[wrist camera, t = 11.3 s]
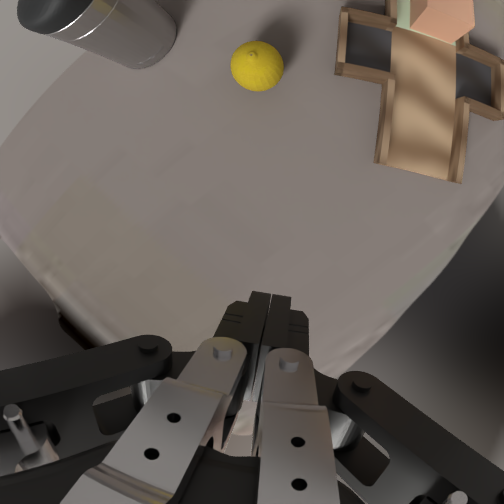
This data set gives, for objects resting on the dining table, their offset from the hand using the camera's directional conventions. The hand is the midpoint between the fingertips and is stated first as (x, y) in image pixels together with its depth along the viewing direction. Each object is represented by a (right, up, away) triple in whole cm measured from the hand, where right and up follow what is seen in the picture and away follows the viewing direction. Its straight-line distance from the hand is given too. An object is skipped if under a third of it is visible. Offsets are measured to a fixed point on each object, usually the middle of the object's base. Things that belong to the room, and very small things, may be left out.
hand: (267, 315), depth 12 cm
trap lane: (+20, +25, +17) cm, 37 cm away
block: (+22, +34, +14) cm, 43 cm away
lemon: (+1, +23, +21) cm, 31 cm away
